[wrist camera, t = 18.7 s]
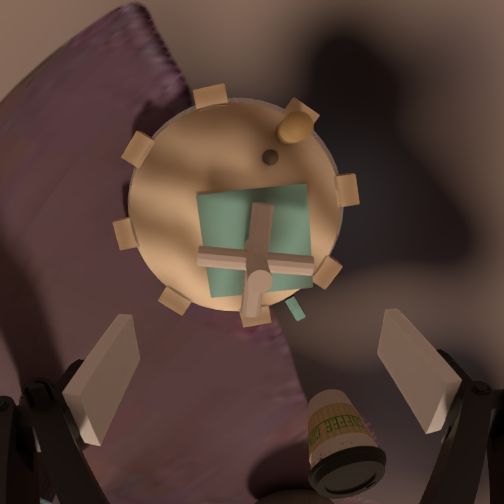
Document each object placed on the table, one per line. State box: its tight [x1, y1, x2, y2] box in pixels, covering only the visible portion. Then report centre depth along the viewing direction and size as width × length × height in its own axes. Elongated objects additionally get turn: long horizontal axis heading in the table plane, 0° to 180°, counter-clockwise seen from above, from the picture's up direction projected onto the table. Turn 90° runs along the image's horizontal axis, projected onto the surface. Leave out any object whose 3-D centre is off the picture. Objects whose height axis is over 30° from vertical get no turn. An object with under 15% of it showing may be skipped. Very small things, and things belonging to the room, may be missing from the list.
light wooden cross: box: [197, 202, 314, 317], centre depth 28 cm, size 10×10×10 cm
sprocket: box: [113, 83, 359, 327], centre depth 30 cm, size 26×26×9 cm
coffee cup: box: [308, 389, 386, 499], centre depth 37 cm, size 10×10×15 cm
